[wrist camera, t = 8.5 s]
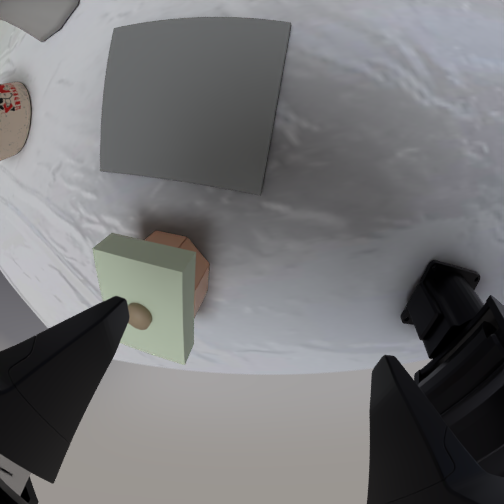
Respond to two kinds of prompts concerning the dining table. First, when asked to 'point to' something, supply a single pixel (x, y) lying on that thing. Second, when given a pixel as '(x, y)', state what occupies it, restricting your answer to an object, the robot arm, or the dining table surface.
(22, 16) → the flask
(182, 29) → the mat
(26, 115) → the teacup with lid
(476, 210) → the dining table surface
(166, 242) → the bowl
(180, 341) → the lid
